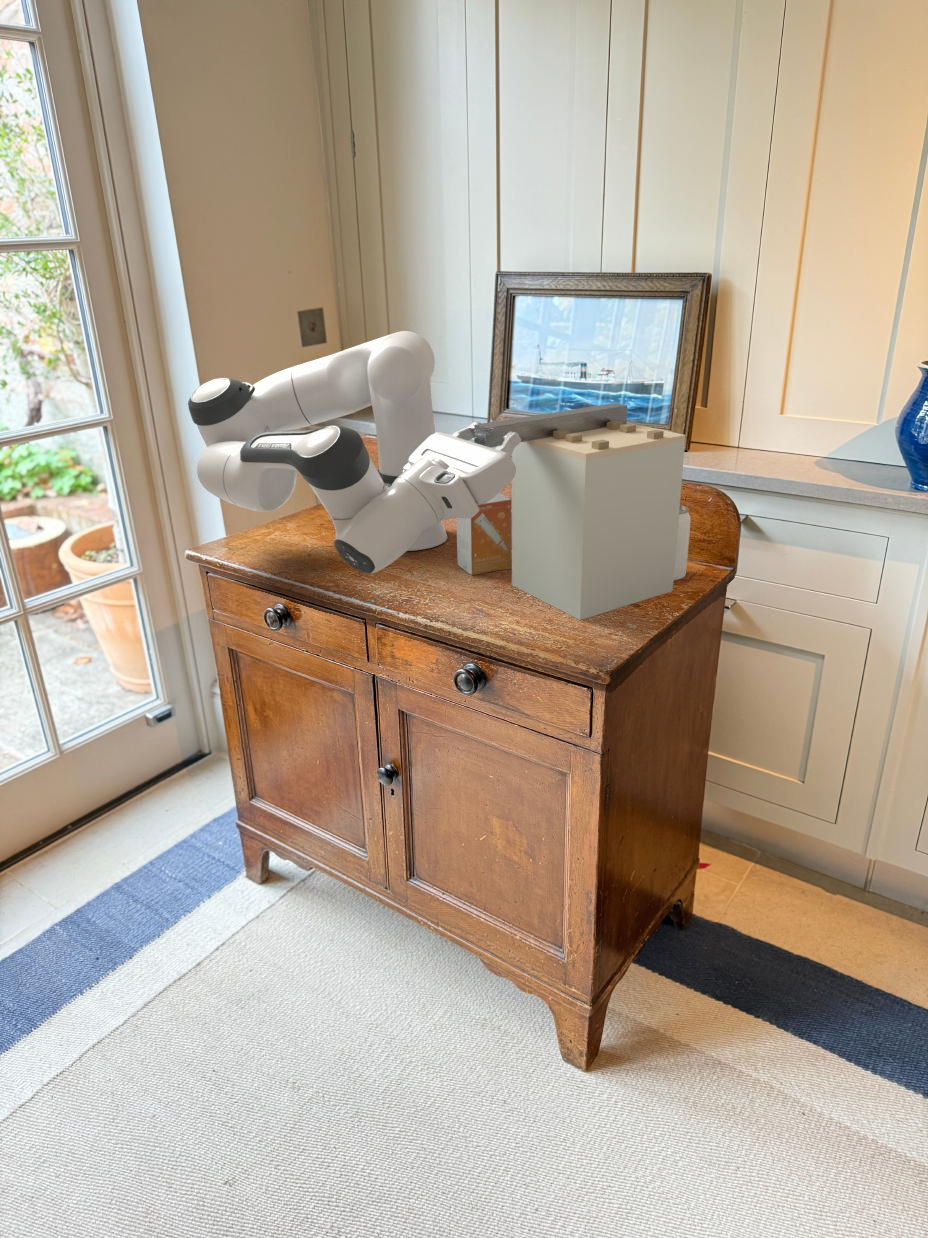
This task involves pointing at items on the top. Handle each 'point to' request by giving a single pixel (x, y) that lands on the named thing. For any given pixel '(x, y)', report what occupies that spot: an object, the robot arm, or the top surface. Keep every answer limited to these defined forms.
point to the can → (682, 543)
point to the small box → (486, 537)
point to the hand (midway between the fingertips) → (498, 430)
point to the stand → (596, 516)
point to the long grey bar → (550, 424)
